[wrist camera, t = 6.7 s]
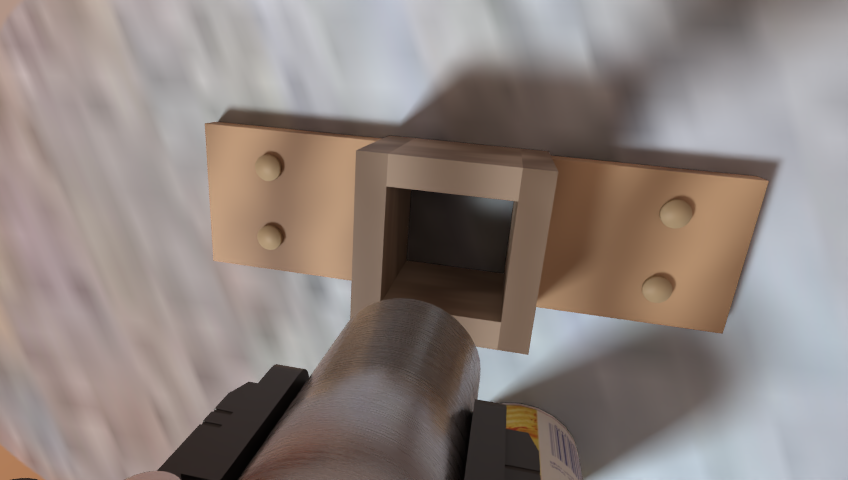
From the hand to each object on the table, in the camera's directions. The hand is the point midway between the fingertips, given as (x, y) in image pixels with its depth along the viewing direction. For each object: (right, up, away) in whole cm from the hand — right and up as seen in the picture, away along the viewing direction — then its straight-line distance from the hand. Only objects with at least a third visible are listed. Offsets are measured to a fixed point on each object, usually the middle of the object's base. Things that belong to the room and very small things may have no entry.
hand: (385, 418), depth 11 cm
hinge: (+3, +5, +16) cm, 17 cm away
